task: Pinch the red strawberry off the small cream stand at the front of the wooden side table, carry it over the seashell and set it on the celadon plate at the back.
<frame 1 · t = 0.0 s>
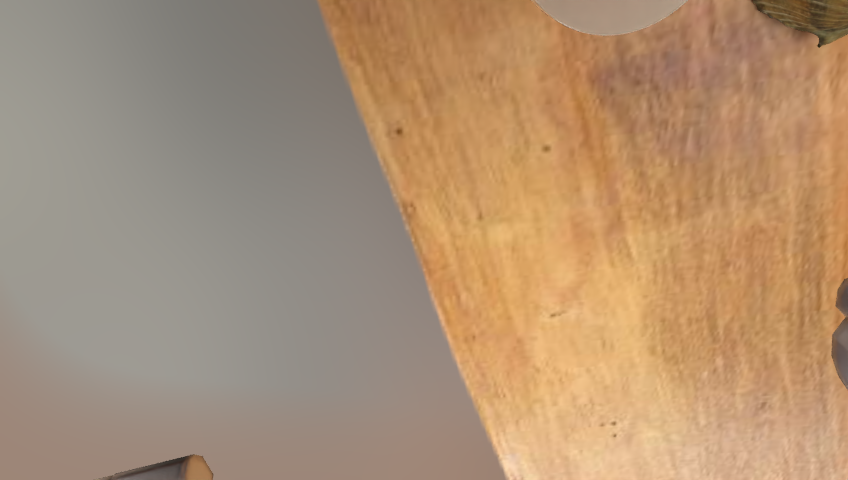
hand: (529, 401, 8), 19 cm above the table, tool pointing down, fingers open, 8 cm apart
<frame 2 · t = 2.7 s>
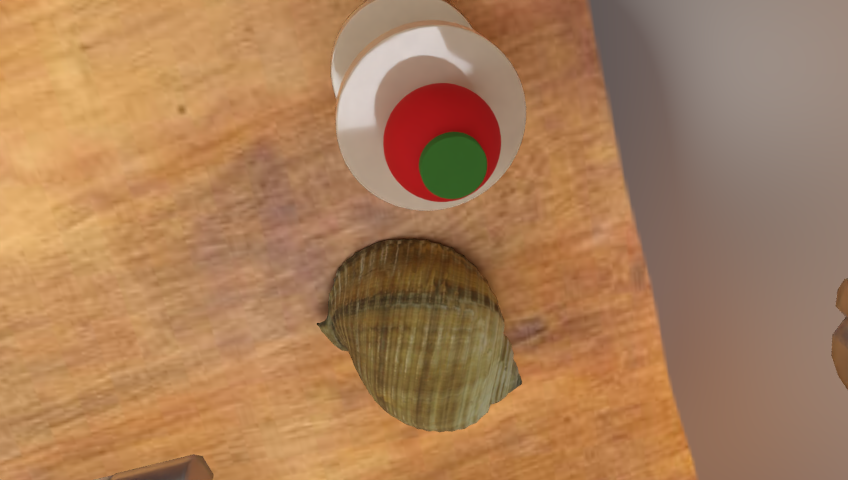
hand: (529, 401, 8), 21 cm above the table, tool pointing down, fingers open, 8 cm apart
seashell: (412, 309, 33), on the table
stand: (405, 68, 27), on the table
strawberry: (432, 124, 21), point 7 cm above the table, touching stand
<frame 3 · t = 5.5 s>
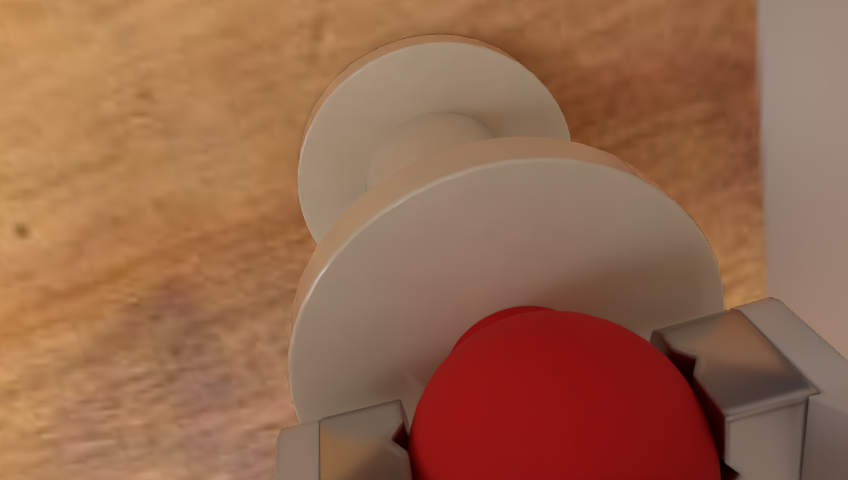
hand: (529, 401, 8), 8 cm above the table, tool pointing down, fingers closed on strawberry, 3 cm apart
stand: (433, 170, 15), on the table
strawberry: (517, 366, 9), point 7 cm above the table, touching gripper, stand
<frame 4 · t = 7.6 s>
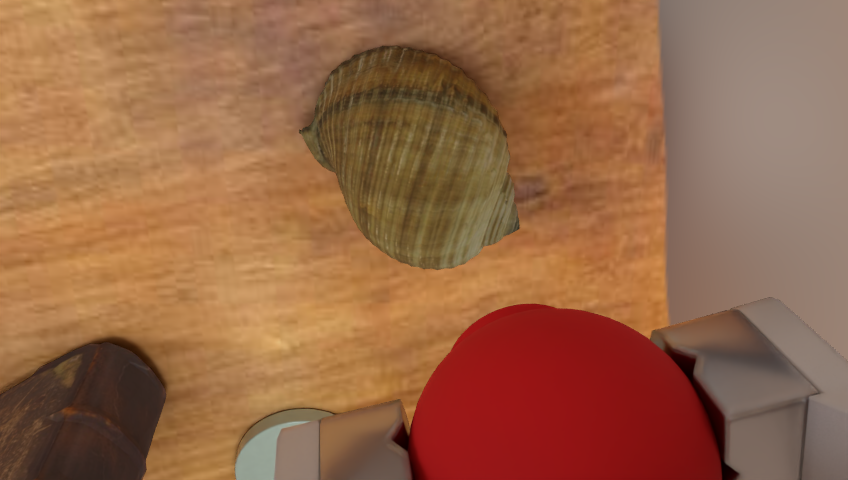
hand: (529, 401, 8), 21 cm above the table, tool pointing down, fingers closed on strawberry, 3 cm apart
book: (30, 438, 34), on the table
plate: (302, 456, 37), on the table
seashell: (406, 142, 29), on the table
strawberry: (517, 364, 9), point 21 cm above the table, touching gripper
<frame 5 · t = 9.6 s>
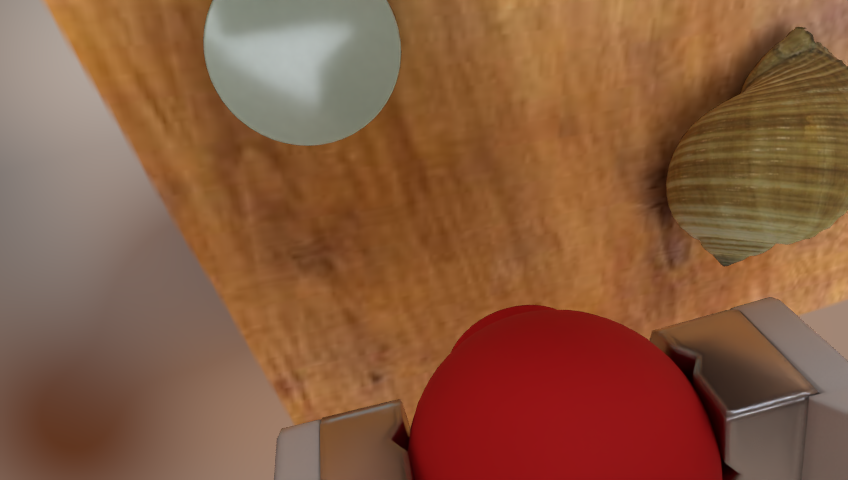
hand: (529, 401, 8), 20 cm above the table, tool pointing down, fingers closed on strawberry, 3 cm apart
plate: (304, 47, 25), on the table
seashell: (740, 129, 29), on the table
strawberry: (517, 365, 9), point 19 cm above the table, touching gripper
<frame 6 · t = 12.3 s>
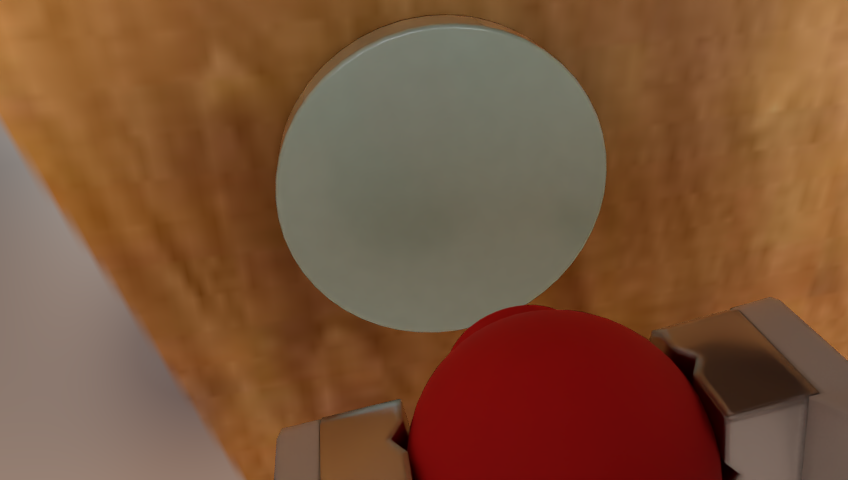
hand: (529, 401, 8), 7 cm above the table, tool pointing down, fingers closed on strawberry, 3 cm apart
plate: (438, 178, 15), on the table
strawberry: (517, 365, 9), point 7 cm above the table, touching gripper
when the fingers open (2 cm above the table, at t = 14.1 s): strawberry stays where it is, resting on plate.
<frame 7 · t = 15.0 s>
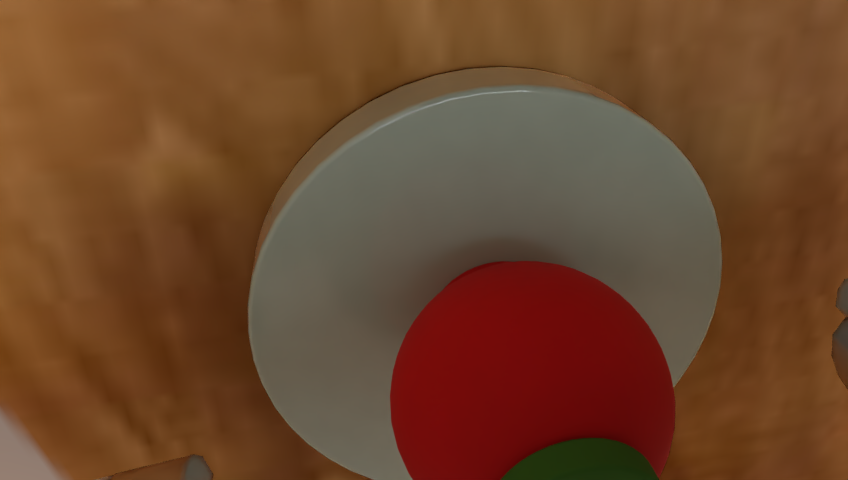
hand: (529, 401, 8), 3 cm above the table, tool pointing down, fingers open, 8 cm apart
plate: (479, 286, 11), on the table
strawberry: (495, 319, 10), point 1 cm above the table, touching plate
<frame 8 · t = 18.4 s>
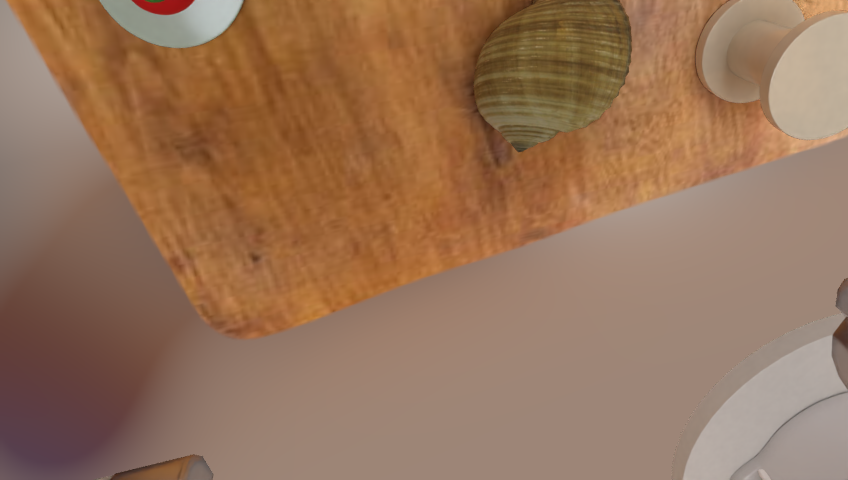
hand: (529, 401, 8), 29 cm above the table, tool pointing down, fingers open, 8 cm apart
seashell: (541, 46, 36), on the table
stand: (746, 46, 38), on the table
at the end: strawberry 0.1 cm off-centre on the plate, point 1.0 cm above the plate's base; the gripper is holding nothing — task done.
